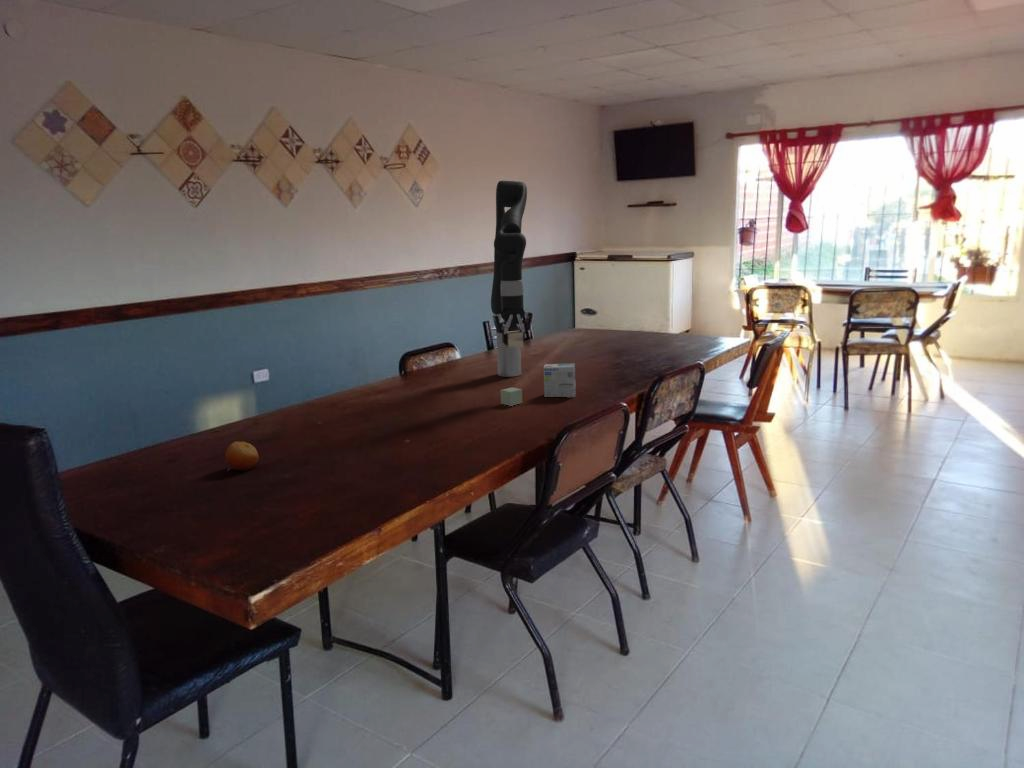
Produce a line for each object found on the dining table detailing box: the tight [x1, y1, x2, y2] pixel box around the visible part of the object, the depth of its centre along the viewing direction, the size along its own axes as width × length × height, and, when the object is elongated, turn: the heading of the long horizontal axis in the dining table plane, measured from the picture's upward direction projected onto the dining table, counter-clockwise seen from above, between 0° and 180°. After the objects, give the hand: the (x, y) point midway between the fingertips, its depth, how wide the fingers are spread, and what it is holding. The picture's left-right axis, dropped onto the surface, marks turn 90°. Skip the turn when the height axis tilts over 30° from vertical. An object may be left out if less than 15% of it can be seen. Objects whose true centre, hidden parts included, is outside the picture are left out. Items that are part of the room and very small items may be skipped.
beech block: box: [504, 331, 524, 349], centre depth 252 cm, size 5×5×5 cm
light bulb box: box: [542, 363, 576, 398], centre depth 254 cm, size 11×7×11 cm, turn 84°
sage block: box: [500, 387, 523, 407], centre depth 245 cm, size 5×5×5 cm
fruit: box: [224, 441, 260, 472], centre depth 188 cm, size 8×8×8 cm
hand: (513, 343), depth 252 cm, fingers closed on beech block, 5 cm apart
